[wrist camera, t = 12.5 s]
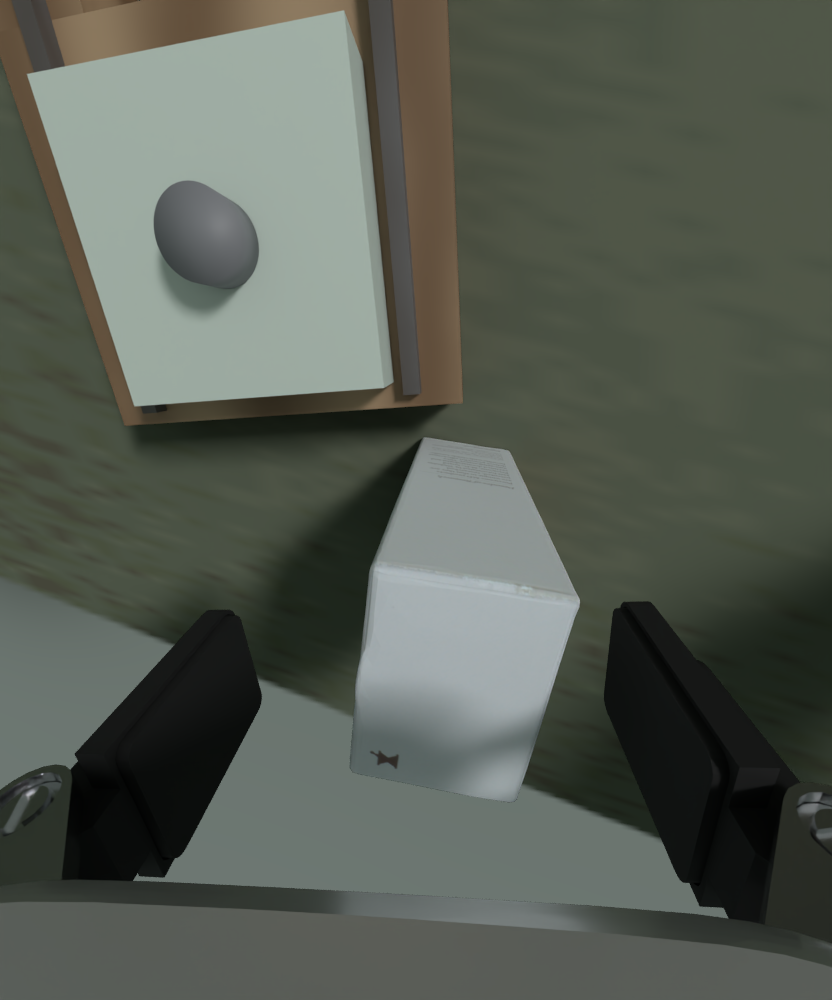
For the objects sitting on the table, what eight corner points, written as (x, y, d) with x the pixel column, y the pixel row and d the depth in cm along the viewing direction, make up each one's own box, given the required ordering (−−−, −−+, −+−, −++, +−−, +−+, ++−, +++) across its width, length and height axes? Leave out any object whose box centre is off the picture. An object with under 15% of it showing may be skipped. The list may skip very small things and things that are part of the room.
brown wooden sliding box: (421, -678, 9) (397, -1251, 6) (463, 393, 18) (462, 405, 14) (-85, -467, 11) (-320, -812, 8) (172, 413, 20) (113, 428, 16)
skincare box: (488, 560, 21) (516, 813, 10) (406, 547, 21) (341, 778, 10) (513, 445, 18) (590, 602, 7) (421, 431, 19) (360, 563, 8)
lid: (362, 62, 12) (328, -32, 9) (393, 382, 15) (376, 392, 12) (89, 112, 13) (-22, 44, 10) (172, 399, 16) (106, 411, 13)
